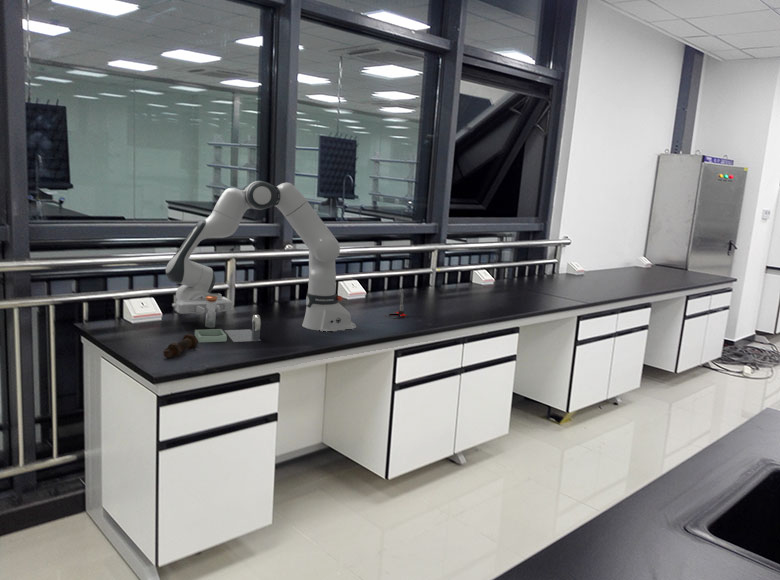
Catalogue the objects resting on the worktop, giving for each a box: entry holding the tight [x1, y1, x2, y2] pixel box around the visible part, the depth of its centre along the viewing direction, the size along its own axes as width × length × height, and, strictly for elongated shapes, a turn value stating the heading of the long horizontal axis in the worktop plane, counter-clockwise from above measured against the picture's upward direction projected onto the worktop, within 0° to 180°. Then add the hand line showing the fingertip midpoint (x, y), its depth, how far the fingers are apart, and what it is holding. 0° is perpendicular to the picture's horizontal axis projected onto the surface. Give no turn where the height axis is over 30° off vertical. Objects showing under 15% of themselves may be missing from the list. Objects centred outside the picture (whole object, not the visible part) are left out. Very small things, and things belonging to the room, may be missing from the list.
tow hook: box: [395, 288, 408, 316], centre depth 289 cm, size 8×13×9 cm
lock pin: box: [204, 295, 217, 329], centre depth 224 cm, size 4×4×11 cm
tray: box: [194, 328, 228, 344], centre depth 226 cm, size 10×10×3 cm
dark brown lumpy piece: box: [162, 333, 199, 359], centre depth 209 cm, size 6×5×15 cm
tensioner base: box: [223, 314, 262, 343], centre depth 233 cm, size 10×16×10 cm, turn 26°
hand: (211, 310), depth 224 cm, fingers closed on lock pin, 3 cm apart
